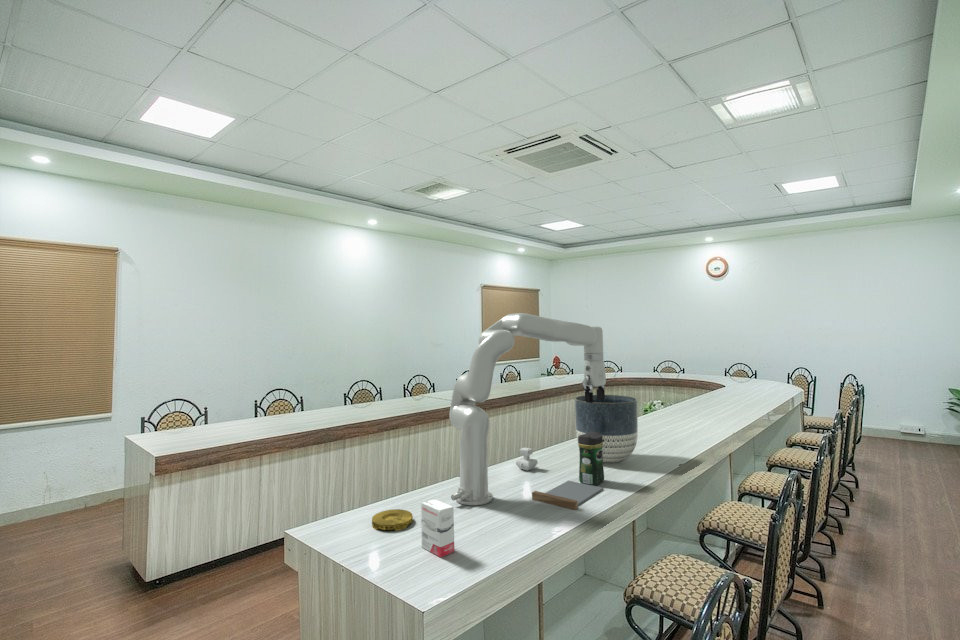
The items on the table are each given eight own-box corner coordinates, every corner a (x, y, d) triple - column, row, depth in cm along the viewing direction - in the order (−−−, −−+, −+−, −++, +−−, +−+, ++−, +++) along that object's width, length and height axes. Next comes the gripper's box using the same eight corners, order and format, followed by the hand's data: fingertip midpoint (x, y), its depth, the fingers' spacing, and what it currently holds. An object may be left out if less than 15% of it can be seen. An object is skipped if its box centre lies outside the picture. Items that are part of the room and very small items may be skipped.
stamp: (527, 473, 187) (526, 452, 187) (513, 470, 191) (513, 449, 191) (539, 468, 193) (539, 447, 194) (526, 465, 198) (526, 445, 198)
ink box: (455, 551, 120) (454, 505, 121) (440, 558, 117) (439, 511, 117) (435, 541, 126) (434, 497, 127) (420, 547, 123) (419, 502, 123)
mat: (575, 507, 149) (575, 505, 149) (538, 498, 158) (538, 496, 158) (603, 489, 166) (603, 487, 166) (568, 482, 174) (568, 480, 174)
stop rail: (574, 510, 147) (574, 502, 147) (532, 499, 157) (532, 492, 157) (577, 508, 148) (577, 500, 148) (535, 497, 158) (535, 490, 158)
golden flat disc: (381, 515, 146) (381, 508, 146) (417, 517, 144) (417, 510, 144) (365, 531, 134) (365, 523, 134) (404, 533, 132) (404, 526, 132)
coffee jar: (588, 477, 180) (587, 429, 181) (607, 481, 175) (606, 431, 175) (575, 483, 173) (574, 433, 174) (594, 487, 168) (593, 436, 168)
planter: (564, 460, 205) (562, 399, 205) (598, 449, 223) (596, 393, 223) (617, 472, 185) (615, 405, 186) (650, 459, 203) (648, 398, 204)
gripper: (591, 359, 175) (593, 404, 175) (612, 356, 188) (613, 398, 188) (574, 358, 180) (575, 402, 180) (595, 356, 193) (596, 397, 193)
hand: (595, 400), depth 184 cm, fingers open, 9 cm apart
